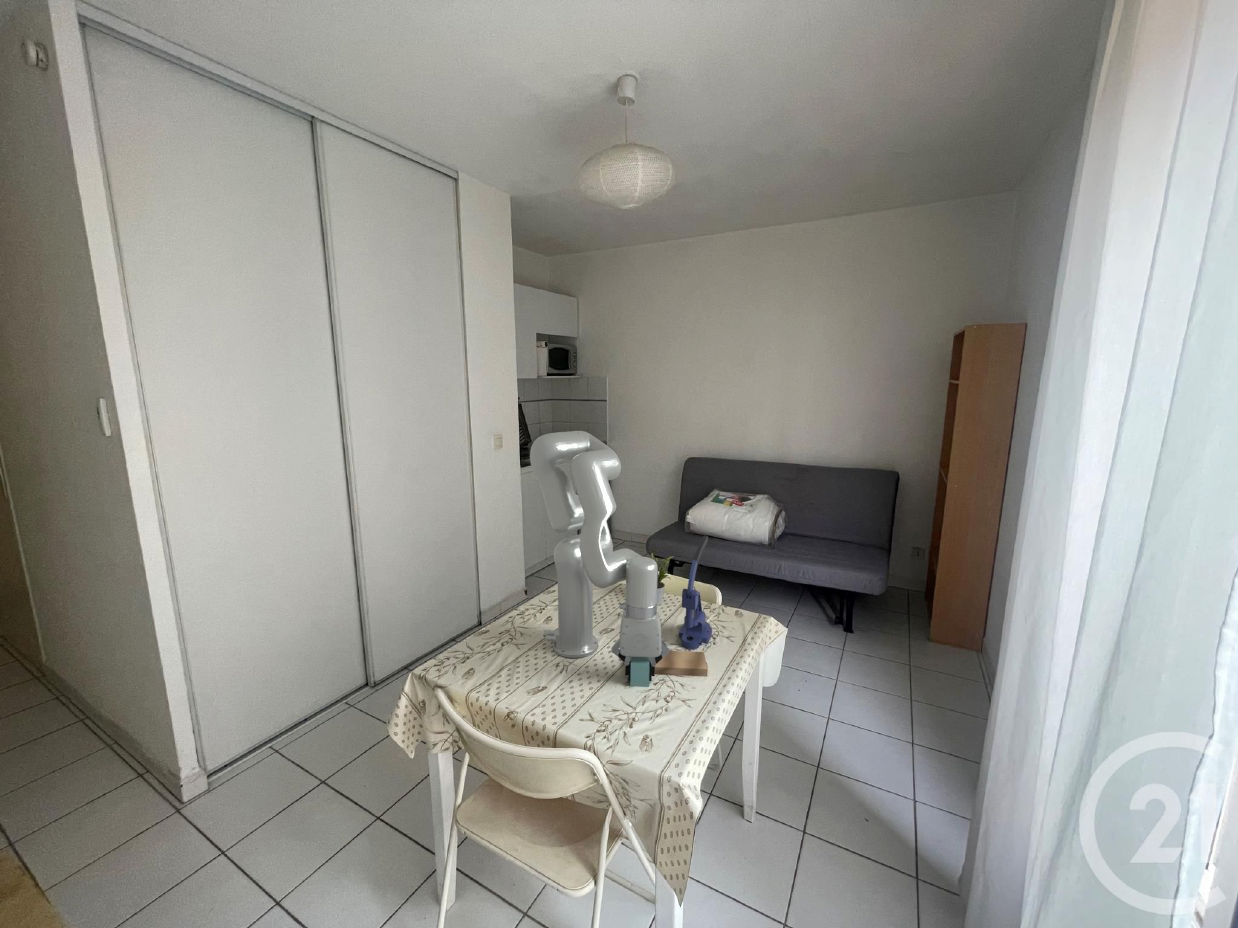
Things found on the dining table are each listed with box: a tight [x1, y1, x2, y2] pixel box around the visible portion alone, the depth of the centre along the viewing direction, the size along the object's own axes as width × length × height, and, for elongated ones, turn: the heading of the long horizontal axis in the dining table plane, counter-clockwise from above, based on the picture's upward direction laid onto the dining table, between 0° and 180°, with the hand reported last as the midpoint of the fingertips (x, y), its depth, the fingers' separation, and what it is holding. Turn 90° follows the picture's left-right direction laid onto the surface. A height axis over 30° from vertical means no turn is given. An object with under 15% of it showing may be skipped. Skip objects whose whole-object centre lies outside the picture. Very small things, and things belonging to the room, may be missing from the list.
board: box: [649, 649, 709, 677], centre depth 129 cm, size 20×8×2 cm, turn 87°
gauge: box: [629, 657, 650, 688], centre depth 125 cm, size 4×10×6 cm, turn 177°
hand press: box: [678, 535, 713, 651], centre depth 142 cm, size 19×9×28 cm, turn 157°
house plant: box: [651, 552, 675, 606], centre depth 167 cm, size 14×14×16 cm
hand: (639, 676), depth 123 cm, fingers closed on gauge, 4 cm apart
